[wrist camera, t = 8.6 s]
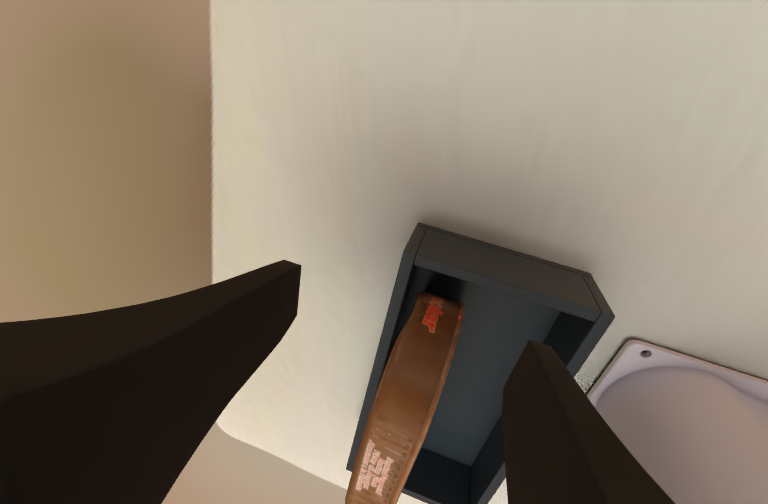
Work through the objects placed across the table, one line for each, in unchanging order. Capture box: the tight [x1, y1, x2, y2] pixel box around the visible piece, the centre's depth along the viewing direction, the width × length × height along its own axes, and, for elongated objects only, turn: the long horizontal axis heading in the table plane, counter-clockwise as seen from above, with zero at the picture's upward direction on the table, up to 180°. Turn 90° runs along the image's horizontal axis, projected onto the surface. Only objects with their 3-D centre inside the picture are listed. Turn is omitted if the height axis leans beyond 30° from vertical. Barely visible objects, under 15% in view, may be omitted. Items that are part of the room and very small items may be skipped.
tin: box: [345, 292, 465, 504], centre depth 20 cm, size 15×3×8 cm, turn 168°
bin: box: [346, 223, 615, 504], centre depth 21 cm, size 10×19×4 cm, turn 168°
